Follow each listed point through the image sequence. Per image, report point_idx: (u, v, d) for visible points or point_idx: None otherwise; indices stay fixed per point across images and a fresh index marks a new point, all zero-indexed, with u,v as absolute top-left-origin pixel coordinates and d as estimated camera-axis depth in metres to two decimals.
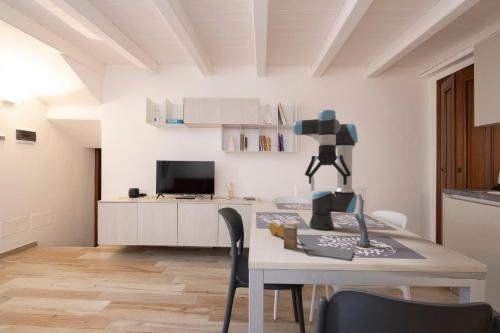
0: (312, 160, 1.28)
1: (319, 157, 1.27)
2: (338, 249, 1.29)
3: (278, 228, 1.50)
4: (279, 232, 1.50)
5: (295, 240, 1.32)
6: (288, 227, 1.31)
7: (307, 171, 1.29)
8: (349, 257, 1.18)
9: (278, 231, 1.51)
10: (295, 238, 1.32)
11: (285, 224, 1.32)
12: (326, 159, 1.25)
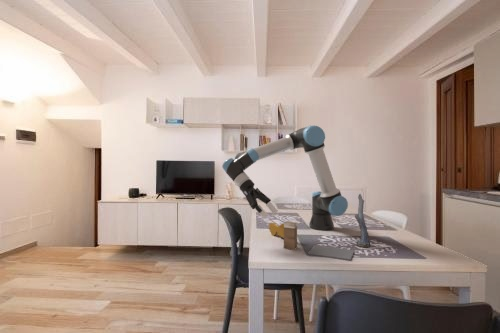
0: None
1: None
2: (338, 249, 1.29)
3: (278, 228, 1.50)
4: (279, 232, 1.50)
5: (295, 240, 1.32)
6: (288, 227, 1.31)
7: None
8: (349, 257, 1.18)
9: (278, 231, 1.50)
10: (295, 238, 1.32)
11: (285, 224, 1.32)
12: None
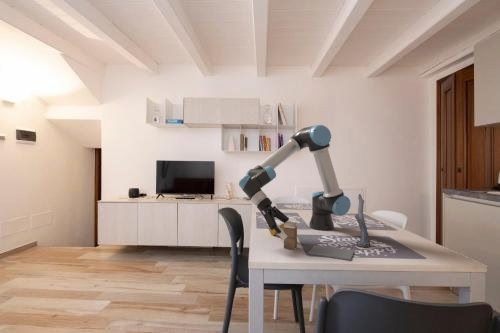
0: None
1: None
2: (338, 249, 1.29)
3: None
4: None
5: (295, 240, 1.32)
6: (288, 227, 1.31)
7: None
8: (349, 257, 1.18)
9: None
10: (295, 238, 1.32)
11: (285, 224, 1.32)
12: None
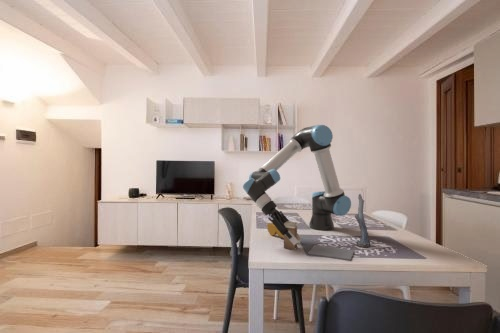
0: None
1: None
2: (338, 249, 1.29)
3: None
4: (279, 232, 1.50)
5: None
6: (288, 227, 1.31)
7: None
8: (349, 257, 1.18)
9: (278, 231, 1.50)
10: None
11: (285, 224, 1.32)
12: None
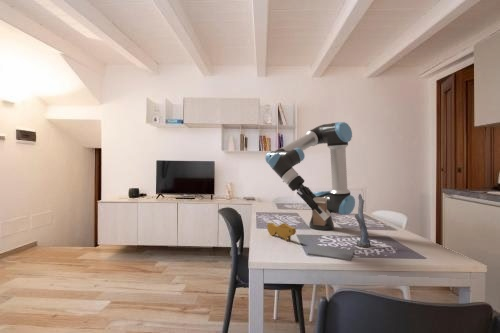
0: None
1: None
2: (338, 249, 1.29)
3: (278, 228, 1.50)
4: (279, 232, 1.50)
5: None
6: (318, 202, 1.25)
7: None
8: (349, 257, 1.18)
9: (278, 231, 1.50)
10: None
11: (314, 199, 1.25)
12: None
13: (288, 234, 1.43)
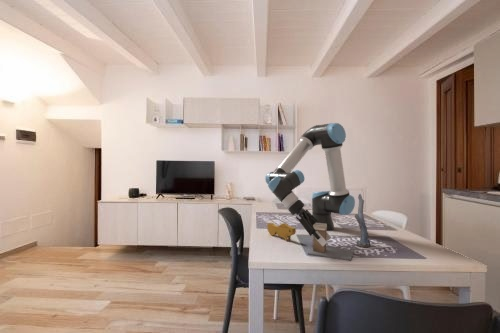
0: None
1: None
2: (338, 249, 1.29)
3: (278, 228, 1.50)
4: (279, 232, 1.50)
5: None
6: (318, 229, 1.25)
7: None
8: (349, 257, 1.18)
9: (278, 231, 1.50)
10: None
11: (314, 226, 1.26)
12: None
13: (288, 234, 1.43)
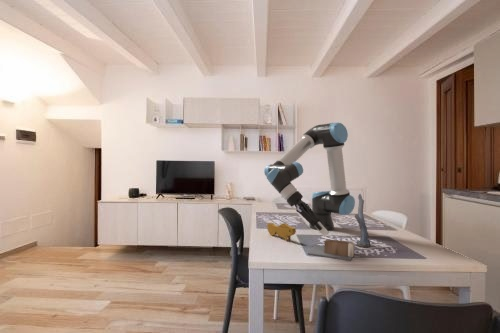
0: None
1: None
2: None
3: (278, 228, 1.50)
4: (279, 232, 1.50)
5: None
6: (348, 250, 1.19)
7: None
8: (349, 257, 1.18)
9: (278, 231, 1.50)
10: None
11: (351, 246, 1.19)
12: None
13: (288, 234, 1.43)
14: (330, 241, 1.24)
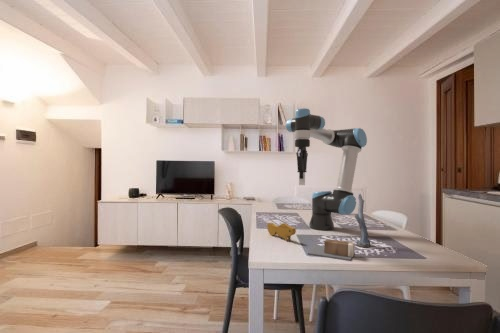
0: None
1: None
2: None
3: (278, 228, 1.50)
4: (279, 232, 1.50)
5: None
6: (348, 250, 1.19)
7: None
8: (349, 257, 1.18)
9: (278, 231, 1.50)
10: None
11: (351, 246, 1.19)
12: None
13: (288, 234, 1.43)
14: (330, 241, 1.24)
